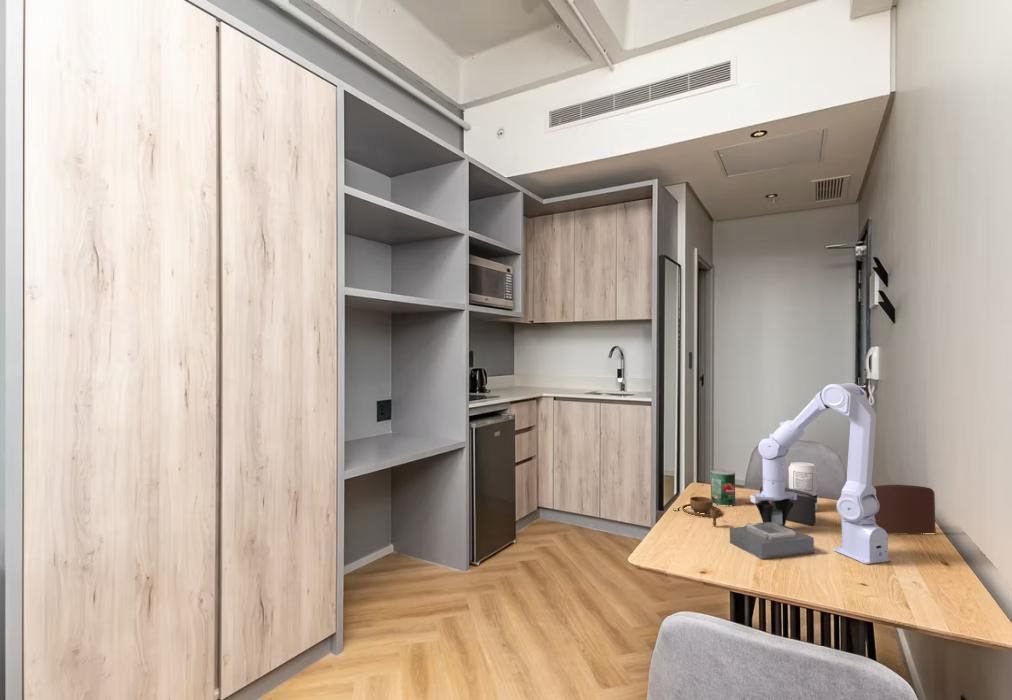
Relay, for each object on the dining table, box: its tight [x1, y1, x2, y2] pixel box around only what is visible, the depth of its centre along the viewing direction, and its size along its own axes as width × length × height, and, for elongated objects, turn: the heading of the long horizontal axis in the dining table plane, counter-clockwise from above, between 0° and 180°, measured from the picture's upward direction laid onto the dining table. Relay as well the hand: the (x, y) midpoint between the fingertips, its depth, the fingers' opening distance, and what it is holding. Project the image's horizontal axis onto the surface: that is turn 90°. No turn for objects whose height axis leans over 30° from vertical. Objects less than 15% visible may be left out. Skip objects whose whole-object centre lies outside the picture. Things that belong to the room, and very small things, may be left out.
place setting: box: [672, 496, 722, 527], centre depth 164 cm, size 18×20×6 cm
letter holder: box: [872, 484, 937, 535], centre depth 151 cm, size 10×20×14 cm, turn 87°
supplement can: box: [788, 461, 818, 511], centre depth 171 cm, size 8×8×15 cm
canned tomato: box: [710, 468, 736, 507], centre depth 178 cm, size 8×8×11 cm
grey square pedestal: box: [729, 522, 815, 560], centre depth 139 cm, size 16×16×5 cm
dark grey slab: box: [759, 485, 817, 526], centre depth 160 cm, size 16×5×9 cm, turn 39°
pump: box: [771, 508, 783, 525], centre depth 150 cm, size 4×4×6 cm
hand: (774, 525), depth 150 cm, fingers closed on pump, 4 cm apart
